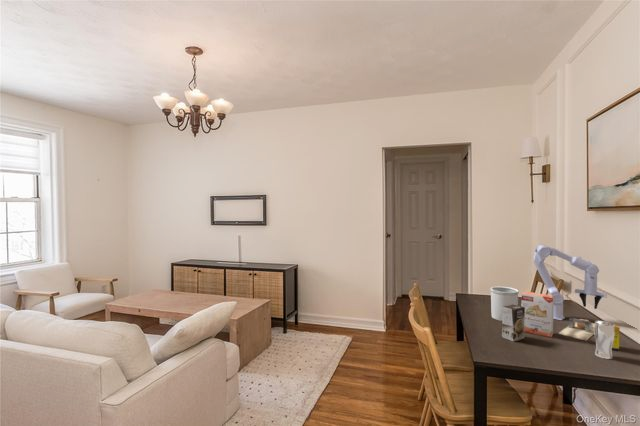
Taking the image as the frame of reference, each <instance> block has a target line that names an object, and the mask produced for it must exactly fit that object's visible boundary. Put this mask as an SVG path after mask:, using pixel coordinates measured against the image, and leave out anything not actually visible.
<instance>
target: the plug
mask: <svg viewBox="0 0 640 426" xmlns="http://www.w3.org/2000/svg"><path fill="white" fill-rule="evenodd" d="M579 319H580V320H585V321H589V319H582V318H579ZM589 322H590V321H589ZM577 327H581V328H585V324H582V323H578V322H577Z"/></svg>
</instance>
